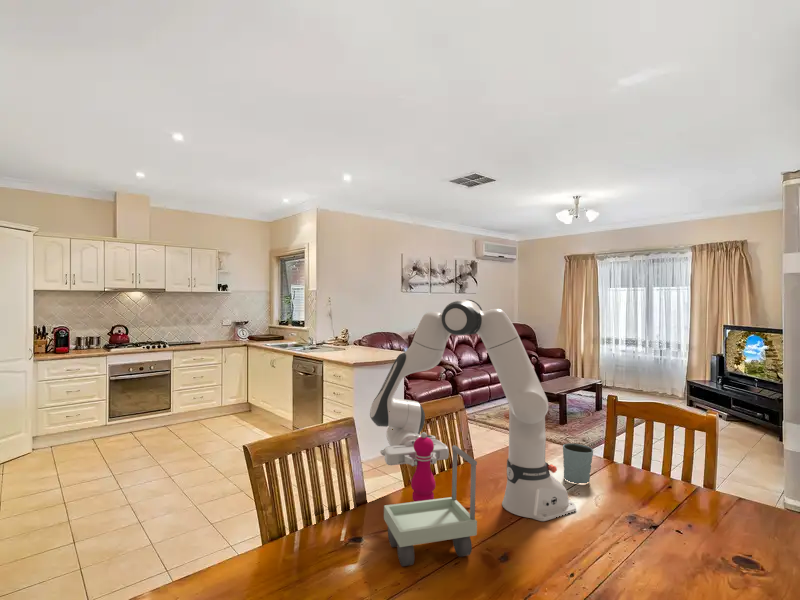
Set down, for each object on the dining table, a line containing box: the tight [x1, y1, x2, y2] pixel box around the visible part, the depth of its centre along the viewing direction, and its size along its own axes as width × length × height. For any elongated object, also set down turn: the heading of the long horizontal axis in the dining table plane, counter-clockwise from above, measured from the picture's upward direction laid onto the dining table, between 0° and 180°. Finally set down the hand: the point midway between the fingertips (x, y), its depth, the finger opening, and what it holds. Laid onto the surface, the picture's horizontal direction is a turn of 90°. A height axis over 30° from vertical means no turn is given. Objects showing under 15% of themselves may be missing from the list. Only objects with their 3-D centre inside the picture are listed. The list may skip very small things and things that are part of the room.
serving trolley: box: [383, 444, 478, 567], centre depth 114 cm, size 20×14×24 cm
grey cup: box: [562, 443, 594, 483], centre depth 160 cm, size 10×10×12 cm
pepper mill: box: [410, 431, 436, 502], centre depth 133 cm, size 7×7×20 cm
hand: (424, 462), depth 132 cm, fingers closed on pepper mill, 5 cm apart
